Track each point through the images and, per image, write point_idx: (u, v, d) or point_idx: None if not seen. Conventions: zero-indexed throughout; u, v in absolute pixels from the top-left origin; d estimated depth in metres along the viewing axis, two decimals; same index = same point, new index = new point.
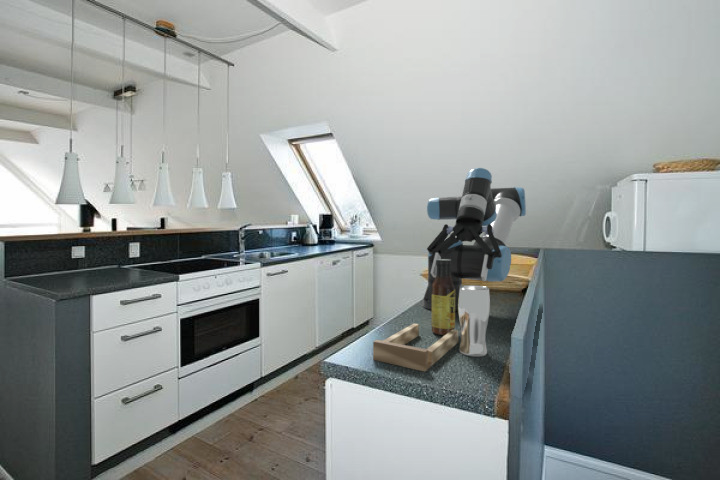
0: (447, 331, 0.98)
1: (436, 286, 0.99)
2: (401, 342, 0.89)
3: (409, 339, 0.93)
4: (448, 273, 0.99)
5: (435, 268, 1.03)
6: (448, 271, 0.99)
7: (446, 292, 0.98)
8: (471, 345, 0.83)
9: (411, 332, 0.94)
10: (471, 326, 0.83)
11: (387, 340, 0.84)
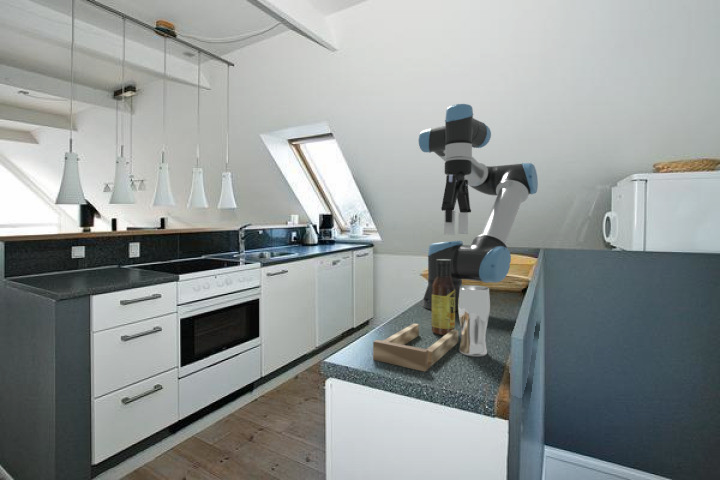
0: (447, 331, 0.98)
1: (436, 286, 0.99)
2: (401, 342, 0.89)
3: (409, 339, 0.93)
4: (448, 273, 0.99)
5: (461, 227, 1.14)
6: (448, 271, 0.99)
7: (446, 292, 0.98)
8: (471, 345, 0.83)
9: (411, 332, 0.94)
10: (471, 326, 0.83)
11: (387, 340, 0.84)
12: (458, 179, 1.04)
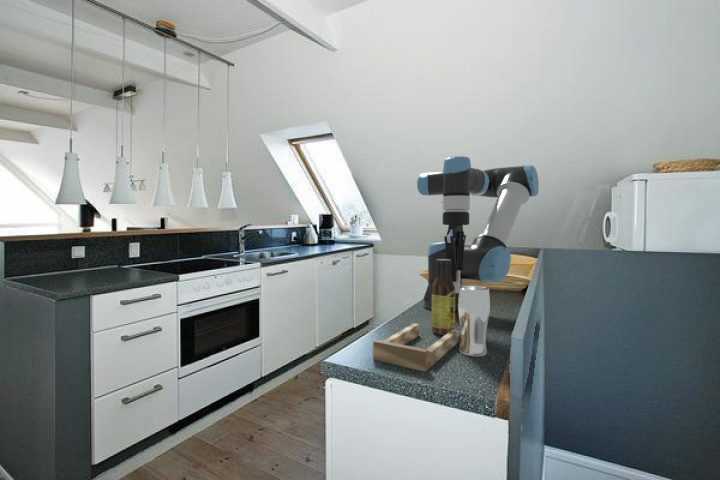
0: (447, 331, 0.98)
1: (436, 286, 0.99)
2: (401, 342, 0.89)
3: (409, 339, 0.93)
4: (448, 273, 0.99)
5: None
6: (448, 271, 0.99)
7: (446, 292, 0.98)
8: (471, 345, 0.83)
9: (411, 332, 0.94)
10: (471, 326, 0.83)
11: (387, 340, 0.84)
12: (456, 231, 1.05)
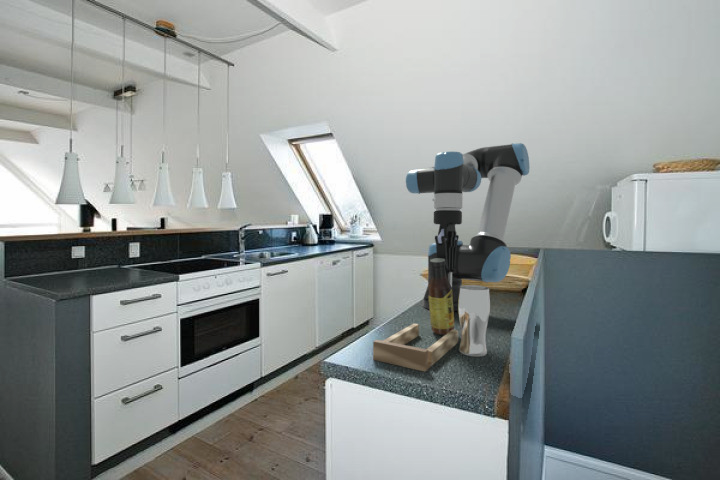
0: (447, 331, 0.98)
1: (432, 289, 0.96)
2: (401, 342, 0.89)
3: (409, 339, 0.93)
4: (443, 274, 0.96)
5: None
6: (443, 272, 0.96)
7: (443, 294, 0.95)
8: (471, 345, 0.83)
9: (411, 332, 0.94)
10: (471, 326, 0.83)
11: (387, 340, 0.84)
12: (447, 231, 0.99)
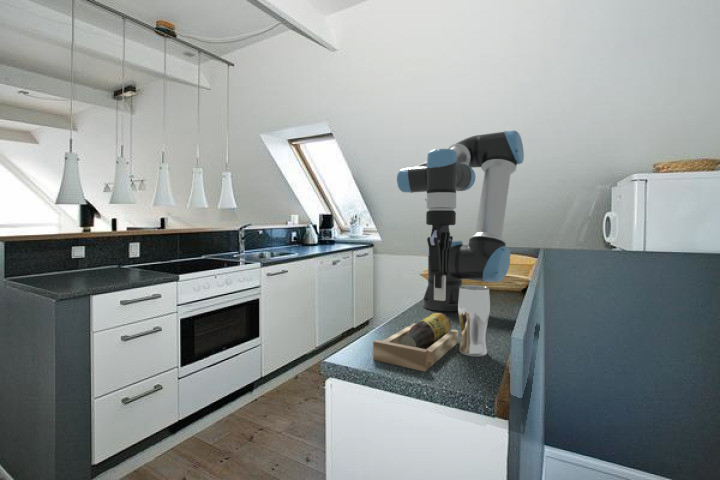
0: None
1: None
2: None
3: None
4: (421, 345, 0.84)
5: None
6: (420, 346, 0.84)
7: (429, 346, 0.88)
8: (471, 345, 0.83)
9: None
10: (471, 327, 0.83)
11: (387, 340, 0.84)
12: (440, 232, 0.94)
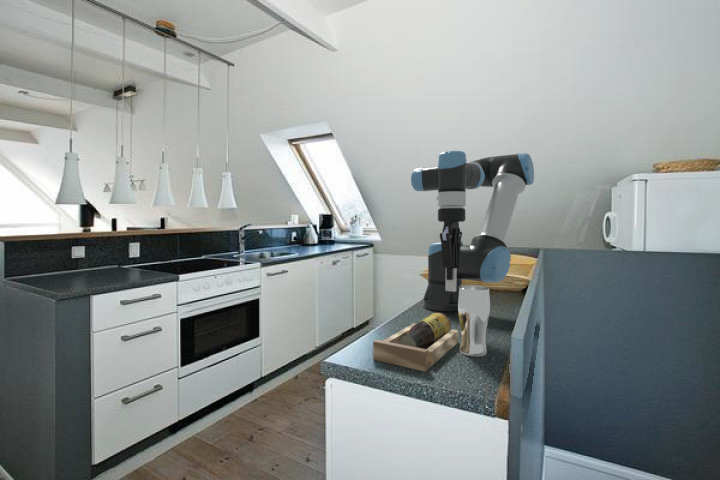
0: None
1: None
2: None
3: None
4: (421, 345, 0.84)
5: None
6: (420, 346, 0.84)
7: (429, 346, 0.88)
8: (471, 345, 0.83)
9: None
10: (471, 326, 0.83)
11: (387, 340, 0.84)
12: (451, 228, 1.02)
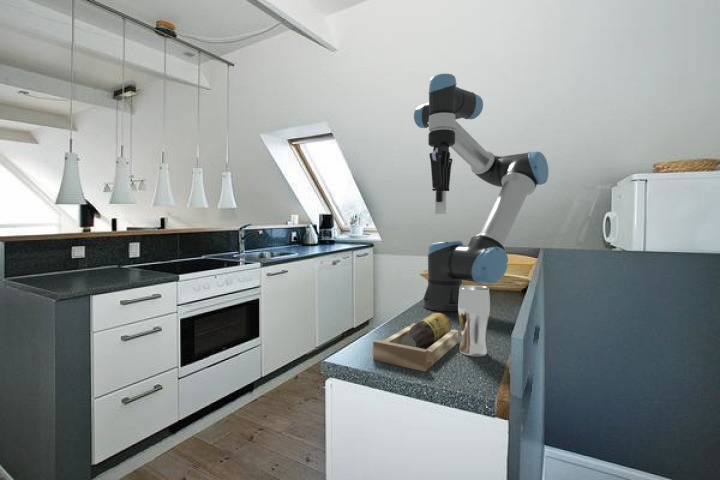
0: None
1: None
2: None
3: None
4: (421, 345, 0.84)
5: None
6: (420, 346, 0.84)
7: (429, 346, 0.88)
8: (471, 345, 0.83)
9: None
10: (471, 326, 0.83)
11: (387, 340, 0.84)
12: (441, 149, 1.04)
